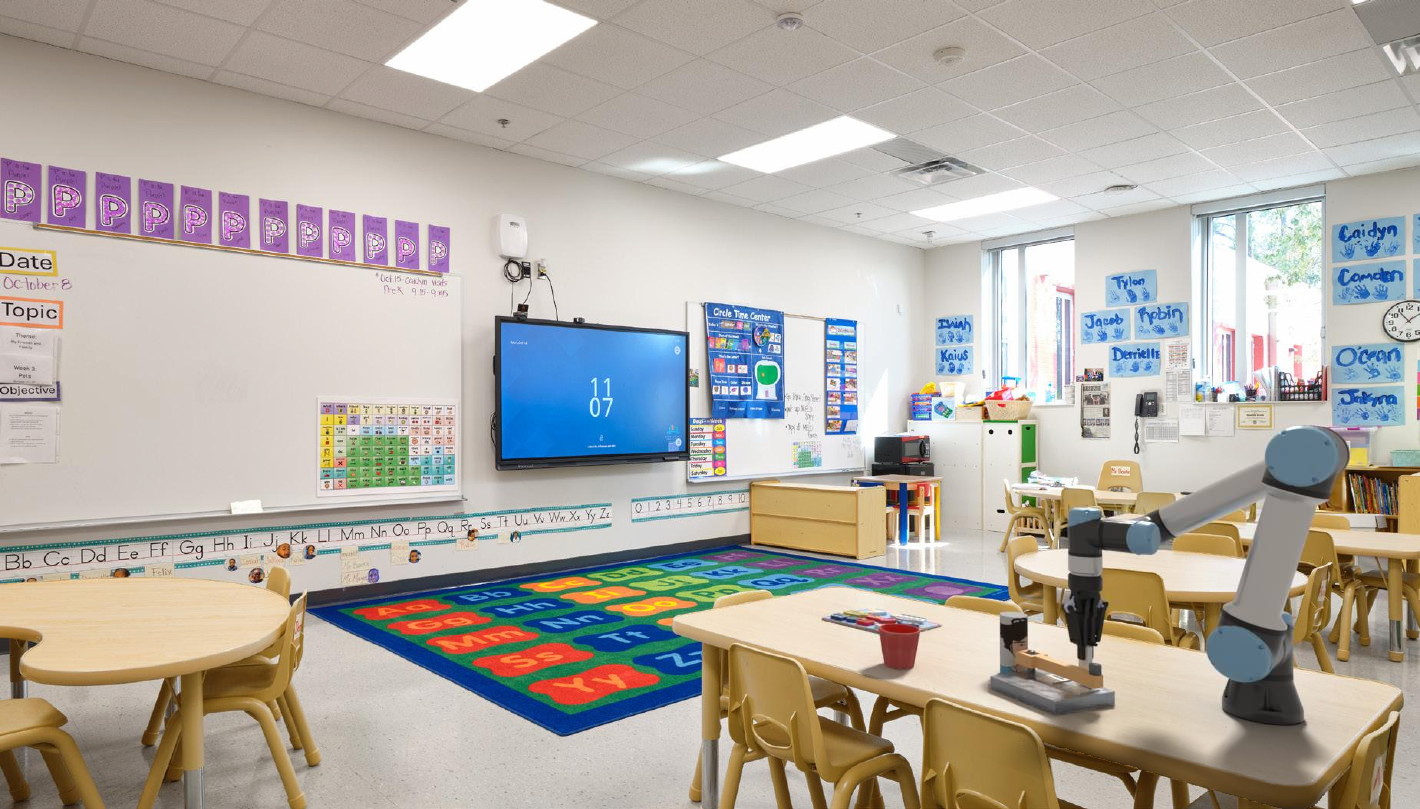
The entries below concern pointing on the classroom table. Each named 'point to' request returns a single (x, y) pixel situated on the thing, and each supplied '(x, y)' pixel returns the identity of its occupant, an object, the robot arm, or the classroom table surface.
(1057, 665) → the bar
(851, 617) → the puzzle board
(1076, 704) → the board
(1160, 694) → the classroom table surface
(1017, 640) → the printed cylinder
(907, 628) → the flower pot
